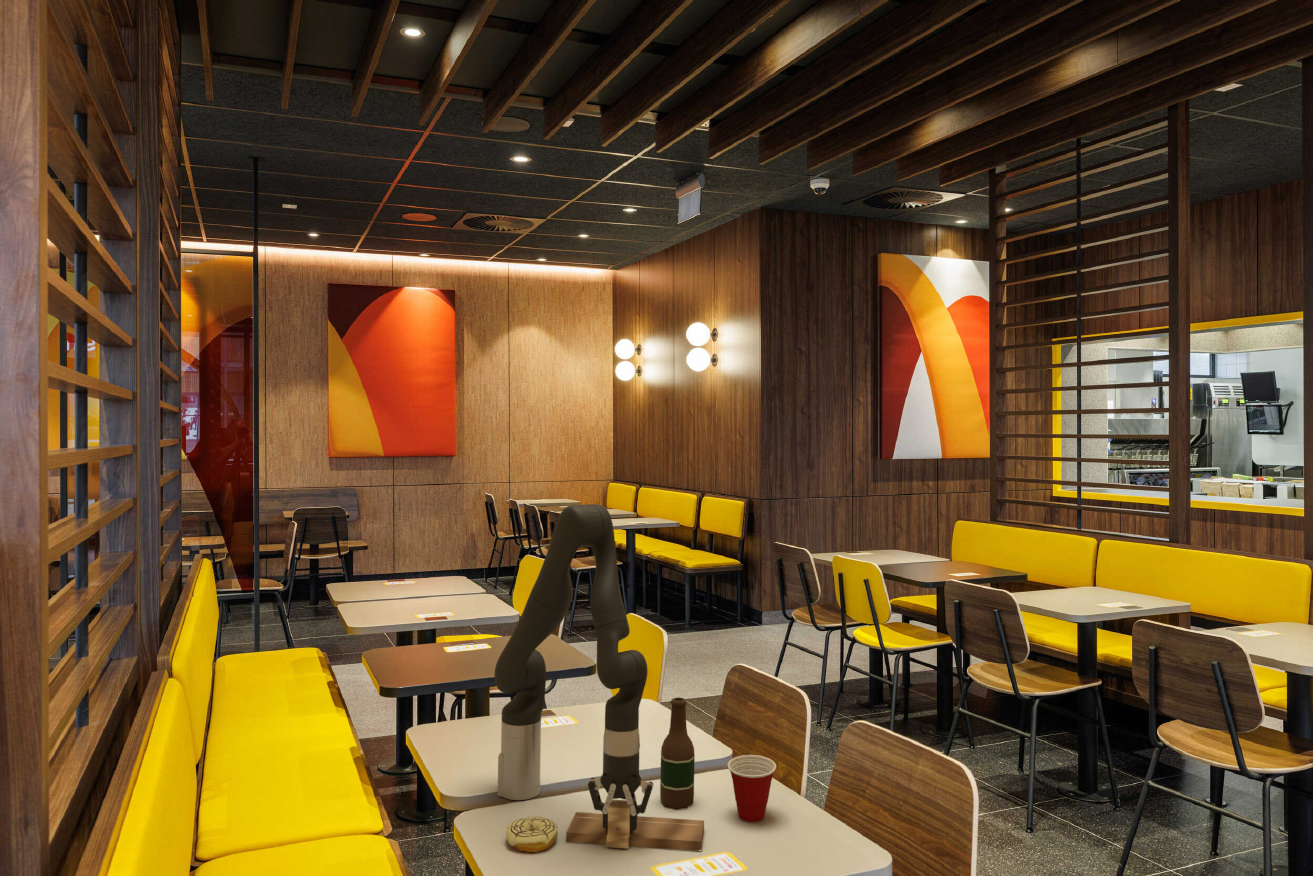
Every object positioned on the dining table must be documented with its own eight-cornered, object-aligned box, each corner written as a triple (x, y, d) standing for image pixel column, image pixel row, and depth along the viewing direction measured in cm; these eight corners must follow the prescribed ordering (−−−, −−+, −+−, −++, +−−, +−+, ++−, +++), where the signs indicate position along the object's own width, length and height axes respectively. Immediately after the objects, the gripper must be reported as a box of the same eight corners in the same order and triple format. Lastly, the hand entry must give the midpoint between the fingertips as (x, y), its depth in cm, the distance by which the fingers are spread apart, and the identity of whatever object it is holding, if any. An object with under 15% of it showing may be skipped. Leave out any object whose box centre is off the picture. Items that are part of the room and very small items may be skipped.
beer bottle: (694, 797, 208) (696, 695, 208) (692, 811, 200) (694, 705, 200) (661, 795, 209) (663, 693, 209) (658, 809, 201) (660, 703, 201)
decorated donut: (503, 855, 178) (503, 837, 178) (508, 831, 189) (509, 814, 189) (555, 854, 179) (556, 836, 179) (558, 831, 190) (558, 813, 190)
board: (566, 842, 184) (566, 832, 184) (575, 821, 194) (576, 812, 194) (701, 851, 181) (701, 841, 181) (703, 829, 191) (704, 820, 191)
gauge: (606, 847, 181) (607, 809, 181) (614, 826, 191) (614, 791, 191) (627, 848, 181) (628, 811, 181) (634, 828, 190) (635, 792, 190)
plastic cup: (718, 821, 195) (719, 766, 195) (737, 803, 205) (738, 751, 205) (765, 832, 190) (766, 776, 190) (782, 813, 200) (783, 760, 200)
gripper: (583, 752, 181) (582, 836, 181) (653, 757, 180) (651, 841, 180) (590, 740, 189) (589, 821, 189) (657, 744, 187) (656, 825, 187)
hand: (620, 830), depth 184 cm, fingers closed on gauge, 4 cm apart
